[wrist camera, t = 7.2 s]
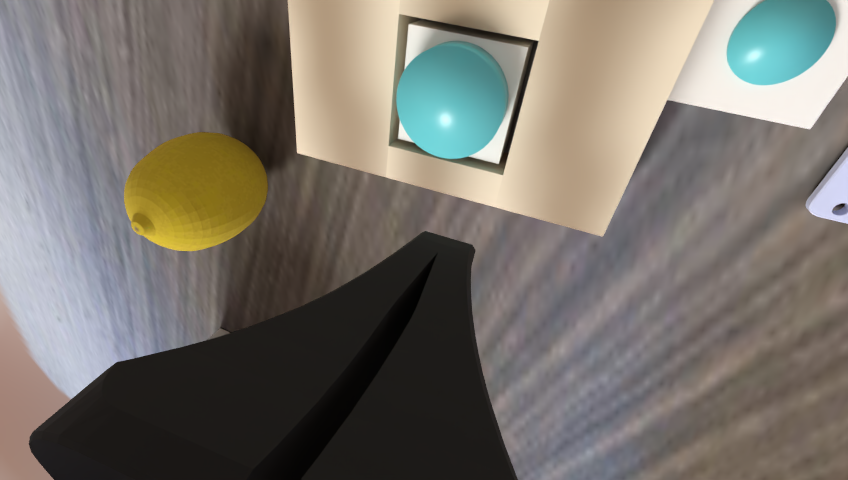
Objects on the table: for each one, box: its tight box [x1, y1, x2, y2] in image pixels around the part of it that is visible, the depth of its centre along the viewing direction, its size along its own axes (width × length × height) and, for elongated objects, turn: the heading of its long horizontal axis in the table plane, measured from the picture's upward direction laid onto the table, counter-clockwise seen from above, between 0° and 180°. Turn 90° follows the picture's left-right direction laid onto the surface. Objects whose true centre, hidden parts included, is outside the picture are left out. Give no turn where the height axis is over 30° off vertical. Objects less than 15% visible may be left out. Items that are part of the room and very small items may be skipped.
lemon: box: [124, 132, 268, 251], centre depth 21 cm, size 6×6×8 cm
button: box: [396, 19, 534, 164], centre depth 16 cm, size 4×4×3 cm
